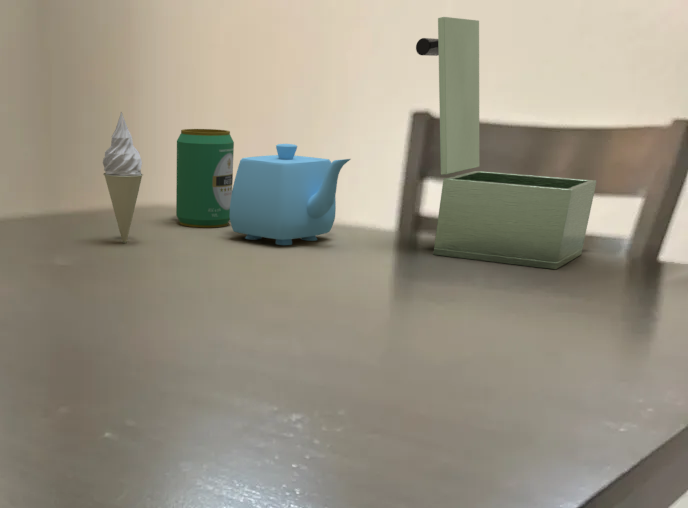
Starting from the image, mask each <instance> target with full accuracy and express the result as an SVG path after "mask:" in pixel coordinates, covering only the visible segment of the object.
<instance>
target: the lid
mask: <svg viewBox="0 0 688 508" xmlns="http://www.w3.org/2000/svg"><path fill="white" fill-rule="evenodd" d="M415 51H416V53H417V54H418V55H419V56H429V57H430V56H431V57H433V56H435V57H437V56H438V93H439V94H438V95H439V96H438V97H439V99H438V101H439V151H440V152H439V153H440V155H439V156H440V175H441V176H444V175H445V176H446V175H450V174H454V173H458V172H462V171H467V170H471V169H475V168H480V20H476V19H467V18H460V17H459V18H458V17H451V16H441V17H438V18H437V38H431V37H430V38H429V37H422V38H420V39H418V41H417V42H416V45H415Z"/></svg>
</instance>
